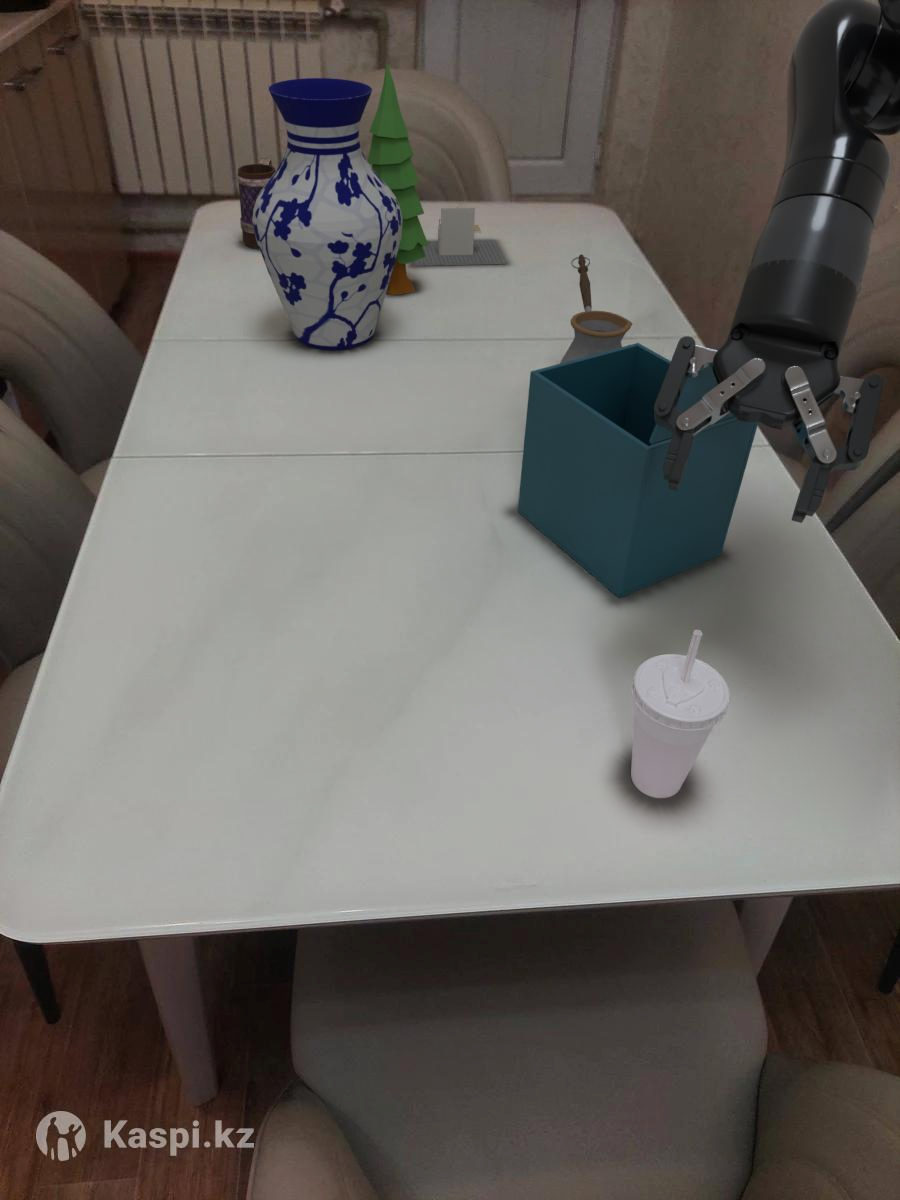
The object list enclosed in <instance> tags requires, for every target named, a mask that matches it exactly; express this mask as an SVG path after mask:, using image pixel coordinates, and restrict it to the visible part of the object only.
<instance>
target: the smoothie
mask: <svg viewBox="0 0 900 1200" xmlns="http://www.w3.org/2000/svg"><path fill="white" fill-rule="evenodd" d="M702 637H703V632H702V630H700V629H695V630H693V632H692V636H691V640H690V644H689V647H688V651H687V654H686V655H685V654H679V653H663V654H658V655H655V656H651V657H649V658H647V659H646V660H644V661H643V662H642V663H641V664H640V665H639V666H638V667H637V669H636V671H635V673H634V677H633V680H632V682H631V685H630V686H631V687H630V688H631V689H630V691H631V696H632V699H633V702H634V710H633V711H634V712H633V714H634V715H633V732H632V748H631V752H632V753H631V767H630V778H631V780H632V783H633V785H634V787H635V788H636V789H638V791H640V792H641V793H643V794H644V795H646V796H647V797H648V796H649V797H651V798H655V799H667V798H671V797H673V796H675V795H676V794H677V793H678V792H680V790H681V788H682V786H683V784H684V782H685V780H686V779H687V777H688V775H689V773H690V771H691V769H692V768H693V766H694V763H695V762H696V760H697V758H698V756H699V755H700V752H701V750H702V749H703V747H704V745H705V744H706V741H707V739H708V737H709V735H710V734H711V733H712V731H713V729H714V726H716V725H717V724H719V723H720V722H721V721H722V720H723V719H724V717H725V716H726V715H727V711H728V706H729V703H730V698H731V697H730V696H731V695H730V689H729V685H728V683H727V682H726V680H725V678H724V677H723V676H722V675H721V673H720V672H719V671H718V670H717V669H716V668H714V667H713V666H711V665H710V664H708V663H706V662H705V661H704V660H703V661H702V660H701V659H698V658H696V657H697V654H698V650H699V647H700V644H701V640H702Z"/></svg>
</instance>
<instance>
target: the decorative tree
mask: <svg viewBox="0 0 900 1200" xmlns="http://www.w3.org/2000/svg"><path fill="white" fill-rule="evenodd" d="M388 64H389V63H388V62H387V61H386V63H385V70H384V77H383V84H382V88H381V91H380V96H379V100H378V105H377V109H376V111H375V115H374V117H373V120H372V123H371V126H370V128H369V132H368V133H371V134H372V138H371V143H370V147H369V152H368V157H367V161H368V163H369V164H370V165H371V167H372V169H373V170H374V171H375V172H376V173H377V175H378V176H379V177H380V178H381V179H382V180H383V182H384V183H385V184H386V185H387V186H388V187H389V189H390V190H391V191H392V193H393V194H394V195H395V197H396V199H397V201H398V203H399V206H400V210H401V215H402V220H403V221H402V236H401V241H400V245H399V249H398V253H397V257H396V261H395V265H394V269H393V272H392V276H391V279H390V282H389V286H388V289H387V292H386V294H389V295H391V296H393V295H395V296H396V295H403V294H408V293H412V292H415V291H416V289H415V287H414V284H413V282H412V281H411V279H410V278H409V276H408V274H407V265H408V264H411V263H414V262H413V261H416V260H419V259H422V258H424V257H425V254H424V250H423V247H422V246H427V245H428V242H429V241H428V240H427V237H426V235H425V232H424V229H423V226H422V224H421V221H420V219H419V216H421V215H424V214H425V211H424V208H423V206H422V204H421V201H420V198H419V195H418V193H417V190H416V187H415V185H418V184H420V180H419V178H418V175H417V171H416V169H415V166H414V164H413V162H412V159H411V158H412V157H413V156H414V150H413V148H412V146H411V142H410V140H409V138H410V136H409V133H408V129H407V127H406V124H405V121H404V118H403V115H402V111H401V108H400V104H399V100H398V95H397V91H396V87H395V82H394V79H393V76H392V73H391V70H390V67H389V65H388Z"/></svg>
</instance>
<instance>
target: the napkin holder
mask: <svg viewBox="0 0 900 1200" xmlns="http://www.w3.org/2000/svg"><path fill="white" fill-rule="evenodd" d="M440 209H441V210H440V218H439V219H438V227H437V241H436V242H437V253H438V254H439V255H440V256H446V255H448V256H450V255H473V254H474V243H475V241H476V240H475V234H482V230H481V228H480V226H479V224H475V220H476V219H475V217H476V216H475V215H476V207H462V204H458V205H457V207H441V208H440Z"/></svg>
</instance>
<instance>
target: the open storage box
mask: <svg viewBox="0 0 900 1200" xmlns="http://www.w3.org/2000/svg"><path fill="white" fill-rule="evenodd" d="M670 363H671V360H669V359H668V358H666V357H664V356H663V355H661V354H659V353H657V352H655V351H653V350H652V349H650V348H648V347H647V346H644V345H643V344H641V343H640V342H636V343H632V344H628V345H625V346H622V347H621V348H617V349H613V350H609V351H606V352H602V353H598V354H594V355H591V356H587V357H583V358H579V359H576V360H572V361H568V362H564V363H561V364H560V363H557V364H554V365H550V366H546V367H543V368H538V369H535V370H531V371H530V373H529V374H530V375H529V386H528V396H527V405H526V406H527V407H526V416H525V417H526V418H525V428H524V437H523V438H524V439H523V449H522V458H521V459H522V461H521V470H520V471H521V472H520V473H521V474H520V483H519V493H518V503H517V512H518V513H519V514H520V515H521V516H522V517H524V518H525V520H527V521H528V522H529V523H531V524H532V525H533V526H534V527H535V528H536V529H538V530H539V531H540V532H541V533H542V534H543V535H544V536H546V537H547V538H548V539H549V540H550V541H552V542H553V543H554V544H555V545H556V546H558V547H559V548H560V549H561V550H562V551H564V553H566V554H567V555H568V556H569V557H570V558H572V560H574V561H575V562H576V563H577V564H578V565H580V566H581V567H582V568H583V569H584V570H586V572H588V573H589V574H590V575H591V576H592V577H594V578H595V579H596V580H597V581H598V582H599V583H601V584H602V585H603V586H604V587H605V588H606V589H608V590H609V592H611V593H613V594H614V595H615V597H617V598H619V599H621V598H623V597H626V596H627V595H629V594H632V593H635V592H637V591H639V590H641V589H643V588H646V587H648V586H651V585H654V584H655V583H658V582H660V581H662V580H665V579H668V578H670V577H672V576H674V575H677V574H679V573H682V572H684V571H686V570H688V569H691V568H693V567H696V566H698V565H701V564H703V563H705V562H708V561H710V560H712V559H715V558H717V557H720V556H721V555H722V553H723V549H724V547H725V542H726V540H727V535H728V532H729V529H730V525H731V521H732V518H733V515H734V510H735V507H736V504H737V499H738V496H739V494H740V489H741V485H742V482H743V480H744V479H743V478H744V475H745V472H746V468H747V465H748V461H749V458H750V455H751V450H752V447H753V443H754V440H755V436H756V432H757V430H758V426H759V422H744V421H740V420H737V417H736V416H734V417H731V418H728V419H725V420H722V421H719V422H716V423H714V424H712V425H709V426H707V427H706V428H704V429H703V430H702V431H700V432H699V433H698V434H696V435H695V436H693V445H692V448H691V452H690V455H689V458H688V461H687V464H686V468H685V471H684V474H683V477H682V481H681V484H680V487H679V490H678V491H674V490H670V489H668V482H669V481H668V480H664V477H663V465H664V461H665V458H666V455H667V452H668V449H669V445H670V442H671V439H672V437H671V438H668V439H665V440H662V441H659V442H656V443H653V444H651V443H650V442H649V440H650V438H651V435H652V433H653V430H654V428H655V426H656V423H655V420H654V404H655V402H656V399H657V396H658V394H659V391H660V389H661V386H662V383H663V381H664V378H665V376H666V373H667V370H668V368H669V365H670Z"/></svg>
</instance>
